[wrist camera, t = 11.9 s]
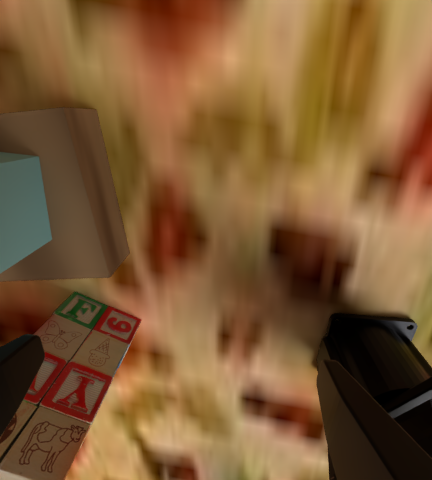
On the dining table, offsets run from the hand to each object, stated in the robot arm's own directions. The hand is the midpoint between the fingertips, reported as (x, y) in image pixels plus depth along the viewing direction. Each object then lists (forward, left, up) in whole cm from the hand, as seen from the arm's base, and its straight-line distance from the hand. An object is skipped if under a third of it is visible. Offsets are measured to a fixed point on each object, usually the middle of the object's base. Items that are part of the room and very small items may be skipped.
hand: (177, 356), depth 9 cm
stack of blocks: (+13, +18, -12) cm, 25 cm away
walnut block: (+12, -2, -12) cm, 17 cm away
